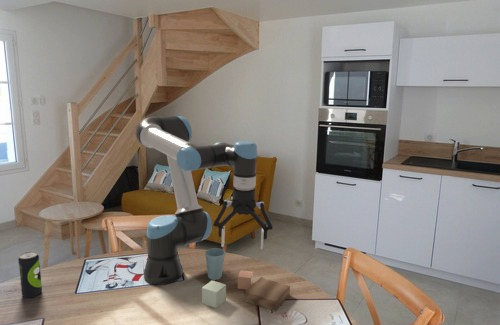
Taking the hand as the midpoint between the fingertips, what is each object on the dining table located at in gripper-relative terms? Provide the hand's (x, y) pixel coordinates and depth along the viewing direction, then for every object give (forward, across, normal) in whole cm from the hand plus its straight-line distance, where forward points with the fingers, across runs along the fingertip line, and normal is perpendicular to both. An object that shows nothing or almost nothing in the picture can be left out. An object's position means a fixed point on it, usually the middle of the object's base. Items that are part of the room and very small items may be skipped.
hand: (242, 246), depth 130 cm
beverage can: (+21, -74, -4) cm, 77 cm away
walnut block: (+20, +10, +1) cm, 22 cm away
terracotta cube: (+20, +1, +8) cm, 22 cm away
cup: (+20, -11, +14) cm, 28 cm away
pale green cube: (+20, -9, -3) cm, 22 cm away
